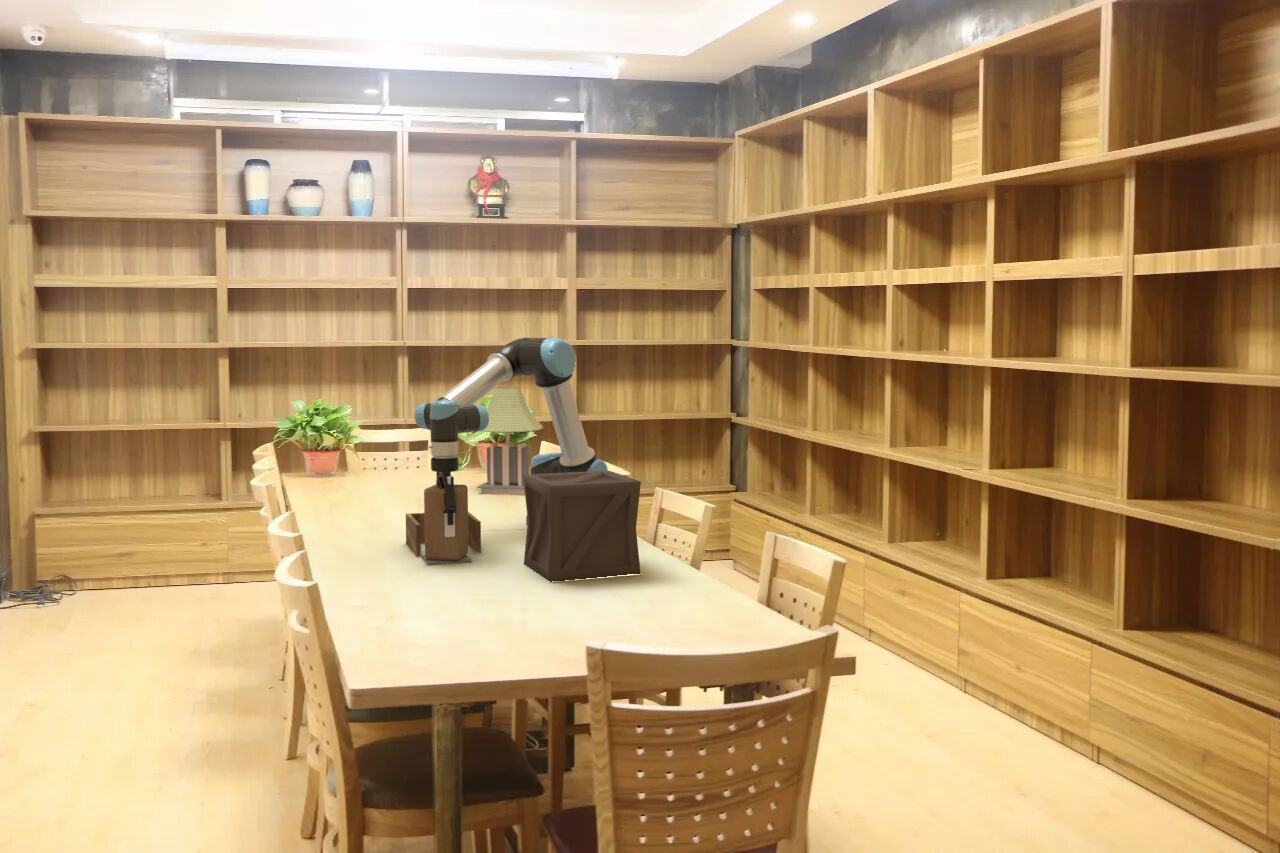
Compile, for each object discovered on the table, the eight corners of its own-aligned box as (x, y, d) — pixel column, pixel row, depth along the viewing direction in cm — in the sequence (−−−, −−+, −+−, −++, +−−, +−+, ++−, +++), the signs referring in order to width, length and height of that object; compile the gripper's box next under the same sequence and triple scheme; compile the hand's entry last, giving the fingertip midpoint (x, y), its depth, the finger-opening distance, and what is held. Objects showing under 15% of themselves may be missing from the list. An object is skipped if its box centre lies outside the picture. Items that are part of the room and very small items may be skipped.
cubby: (467, 540, 379) (467, 510, 378) (481, 552, 359) (480, 521, 358) (406, 543, 373) (405, 513, 372) (416, 556, 353) (416, 525, 352)
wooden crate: (609, 559, 351) (608, 470, 349) (641, 575, 328) (640, 480, 326) (523, 566, 342) (522, 474, 340) (550, 583, 319) (549, 484, 317)
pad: (463, 554, 356) (463, 552, 356) (471, 562, 345) (471, 560, 345) (421, 557, 352) (421, 554, 352) (427, 565, 341) (427, 563, 341)
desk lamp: (465, 496, 469) (463, 389, 466) (486, 486, 497) (485, 385, 493) (531, 498, 465) (530, 390, 461) (549, 487, 493) (548, 385, 489)
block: (459, 561, 343) (458, 489, 341) (424, 560, 345) (422, 488, 343) (469, 554, 353) (468, 484, 351) (435, 553, 355) (434, 483, 353)
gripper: (424, 452, 357) (425, 525, 359) (438, 462, 333) (439, 540, 335) (450, 451, 359) (451, 524, 361) (466, 461, 335) (467, 539, 337)
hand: (445, 532), depth 348 cm, fingers open, 13 cm apart
